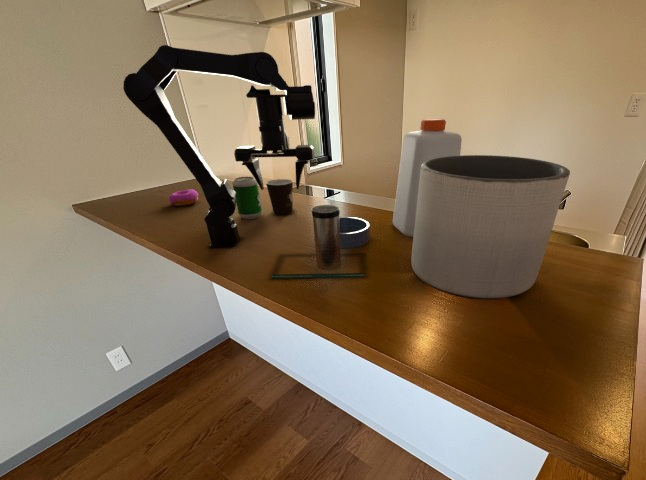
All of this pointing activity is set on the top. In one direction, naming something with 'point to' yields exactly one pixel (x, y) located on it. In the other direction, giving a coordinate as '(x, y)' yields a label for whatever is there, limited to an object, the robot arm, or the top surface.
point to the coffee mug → (281, 195)
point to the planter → (484, 223)
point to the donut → (184, 197)
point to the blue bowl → (353, 232)
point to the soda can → (247, 197)
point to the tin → (327, 236)
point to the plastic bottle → (419, 167)
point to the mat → (318, 276)
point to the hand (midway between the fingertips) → (280, 189)
